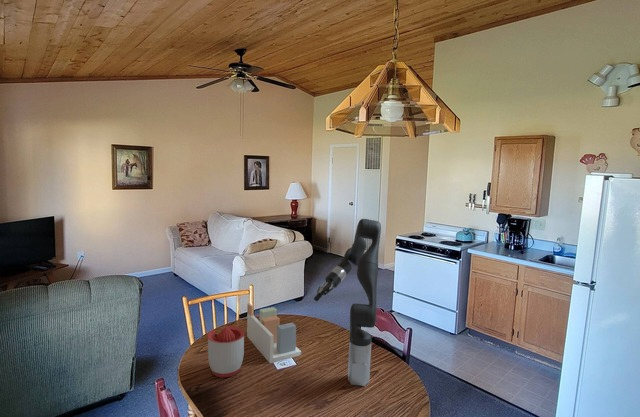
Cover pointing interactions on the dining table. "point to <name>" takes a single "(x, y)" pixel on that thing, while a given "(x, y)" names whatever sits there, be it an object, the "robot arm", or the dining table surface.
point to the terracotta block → (271, 325)
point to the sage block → (267, 312)
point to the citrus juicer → (226, 351)
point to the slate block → (286, 338)
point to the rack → (265, 339)
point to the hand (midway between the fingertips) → (315, 299)
